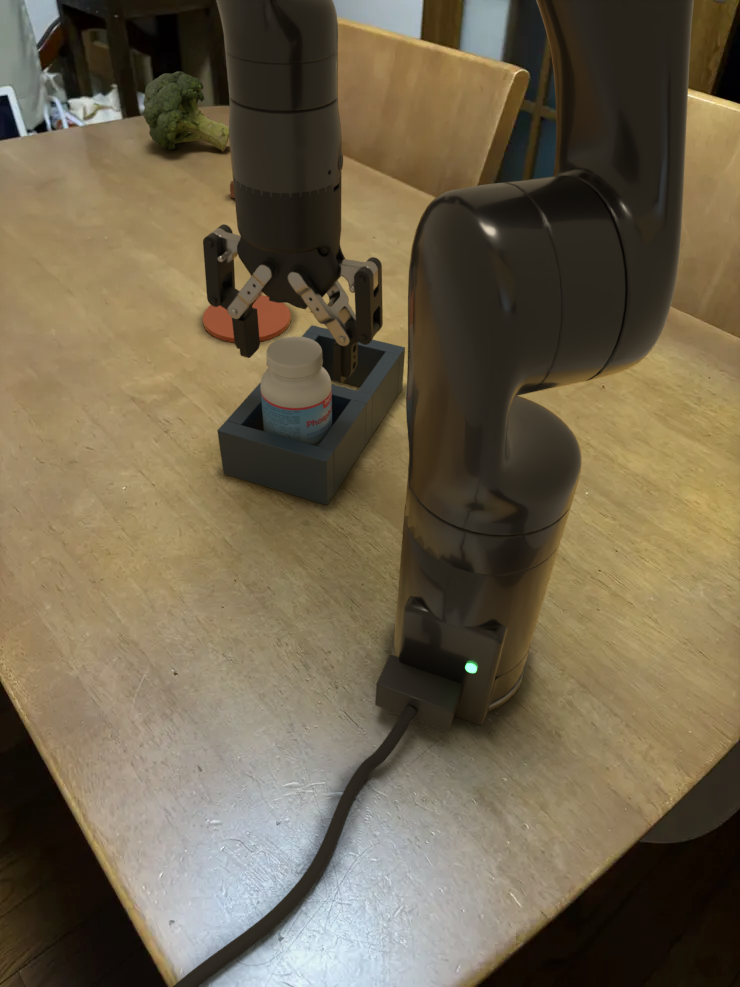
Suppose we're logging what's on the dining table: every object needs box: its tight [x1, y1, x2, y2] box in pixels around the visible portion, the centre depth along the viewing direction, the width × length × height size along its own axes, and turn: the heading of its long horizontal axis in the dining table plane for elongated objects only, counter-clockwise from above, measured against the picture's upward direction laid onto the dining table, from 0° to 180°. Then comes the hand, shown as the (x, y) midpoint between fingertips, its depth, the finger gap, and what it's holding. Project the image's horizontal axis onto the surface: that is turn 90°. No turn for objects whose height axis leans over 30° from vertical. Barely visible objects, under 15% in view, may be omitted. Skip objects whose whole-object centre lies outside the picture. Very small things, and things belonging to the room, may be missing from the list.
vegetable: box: [143, 70, 229, 152], centre depth 124 cm, size 12×13×15 cm
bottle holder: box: [217, 324, 406, 506], centre depth 71 cm, size 19×10×5 cm, turn 158°
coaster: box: [202, 294, 292, 343], centre depth 86 cm, size 10×10×1 cm
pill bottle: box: [259, 335, 332, 447], centre depth 65 cm, size 6×6×11 cm
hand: (295, 364), depth 63 cm, fingers open, 8 cm apart
